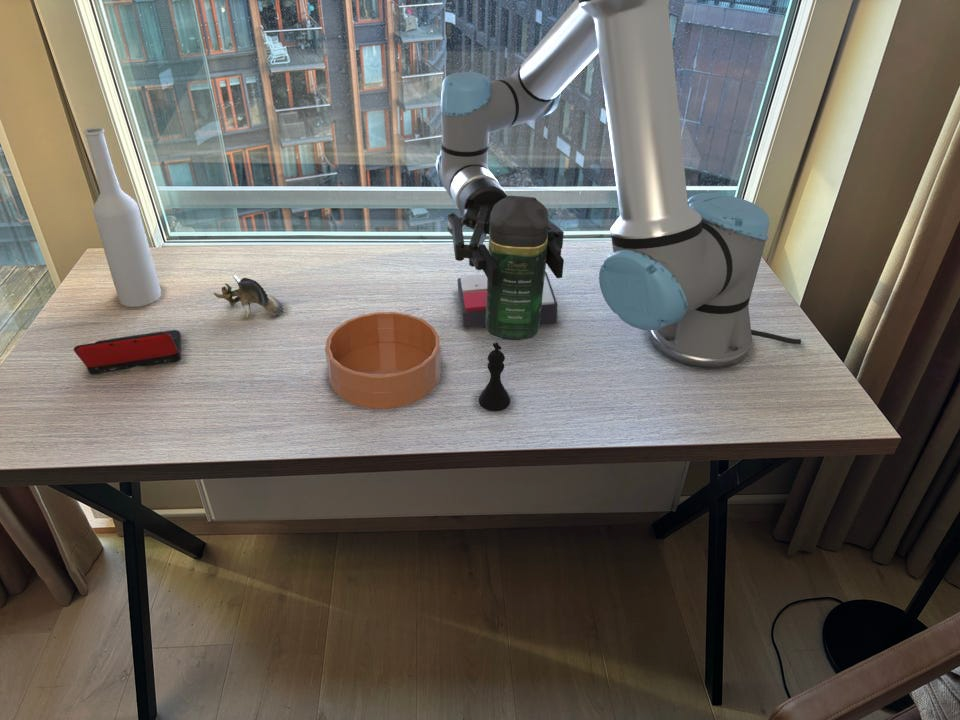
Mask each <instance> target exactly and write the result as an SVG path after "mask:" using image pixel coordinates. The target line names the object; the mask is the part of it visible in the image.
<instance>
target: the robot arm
mask: <svg viewBox="0 0 960 720" xmlns="http://www.w3.org/2000/svg"><path fill="white" fill-rule="evenodd" d="M669 3H670V0H574V1H573V2H572V3H571V4H570V5H569V7H568V8H567V9H566V11H564V13H563V14H562V15H561V16H560V17H559V19H558V20H557V21H556V23H555V24H553V26H552V27H551V29H550V30H549V31H548V32H547V33H546V34H545V35H544V36H543V38H542V39H541V40H540V42H538V44H537V45H536V46H535V47H534V49H532V51H531V52H530V53H529V54H528V56H526V58H525V59H524V60H523V62H522V63H521V64H520V65H519V66H518V67H517V68H516V69H515V71H514V72H513V73H512V74H511V75H509V76H508V77H504V78H499V79H496V80H492V81H490V79H489V77H487V76H486V75H484V74H482V73H479V72H474V71H464V72H460V71H459V72H454V73H451V74H449V75H447V76H445V78H444V79H443V80H442V84H441V92H440V103H439V104H440V105H439V106H440V107H439V108H440V117H441V118H440V121H441V145H440V152H439V153H438V155H437V156H436V157H437V158H436V160H435V170H436V173H437V177H438V179H439V182H440V184H441V185H442V187H443V188H444V189H445V191H446V193H447V194H448V195H449V197H450V199H451V201H452V202H453V204H454V206H455V207H456V209H457V210H458V212H459V215H457V214H456V213H454V212H449V213H447V214H446V217H447V220H446V222H447V224H446V225H447V228H446V229H447V231H448V233H449V234H450V235H451V238H452V245H453V251H454V260H455V261H458V262H462V261H464V260H465V259H468V265H469V267H474V268H475V270H477V271H483V274H485V275H486V276H487V278H488V280H489V282H490V284H491V285H492V287H493V286H498V266H497V264H496V263H495V261H494V259H493V258H492V256H491V255H490V253H489V248H487V246H486V245H485V244H484V242H485V241H486V238H487V236H489V228H490V224H489V221H490V215H491V211H492V209H493V207H494V205H495V204H496V203H497V202H499V201H500V200H502V199H504V198H505V197H506V196H509V195H508V194H507V192H506V191H505V189H504V188H503V187H502V185H501V184H500V182H499V181H498V179H497V178H496V177H495V176H494V174H493V173H492V171H490V168H489V166H488V161H489V147H490V146H489V145H490V144H489V143H490V134H491V133H495V132H498V131H501V130H504V129H506V128H507V129H508V128H511V127H514V126H518V125H521V124H524V123H528V122H533V121H537V120H540V119H542V118H543V117H546V116H548V115H550V114H552V113H553V112H554V111H555V110H556V109H557V108H558V106H559V103H560V99H561V93H562V91H563V90H564V89H565V88H566V87H567V86H568V85H569V84H570V83H571V82H572V81H573V80H574V79H575V78H576V77H577V75H579V73H581V71H583V69H584V68H585V67H586V66H588V65H589V63H591V61H592V60H593V59H594V58H595V57H597V55H598V59H599V65H600V66H599V67H600V73H601V79H602V80H601V81H602V88H603V96H604V103H605V110H606V111H605V112H606V118H607V127H608V133H609V141H610V149H611V156H612V163H613V169H614V170H613V171H614V179H615V186H616V187H615V188H616V193H617V201H618V208H619V209H618V210H619V217H618V218H617V219H616V221H614V223H613V224H612V226H611V227H610V237H611V245H612V253H610V254H608V255H607V257H606V258H605V259H604V261H603V263H602V264H601V266H600V268H599V273H598V281H599V282H598V283H599V288H600V292H601V294H602V297H603V299H604V301H605V302H606V304H607V306H608V307H609V309H610V310H611V311H612V312H613V314H616V315H617V316H618V318H619V319H620V320H621V321H622V322H624V323H625V324H627V325H629V326H631V327H633V328H635V329H638V330H643V331H649V332H648V336H649V340H650V342H651V344H652V345H653V347H654V348H655V349H656V350H657V351H658V352H659V353H660V354H662V355H663V356H664V357H666V358H668V359H670V360H671V361H674V362H676V363H679V364H681V365H684V366H687V367H691V368H696V369H705V370H719V369H726V368H730V367H733V366H736V365H738V364H740V363H742V361H744V360H745V359H746V358H747V357H748V355H749V353H750V349H751V345H752V341H753V336H756V337H761V338H766V339H769V340H770V339H771V340H774V341H778V342H782V343H787V344H792V345H801V344H802V339H801V338H791V337H787V336H782V335H779V334H774V333H769V332H765V331H759V330H754V329H752V327H751V326H752V325H751V317H750V309H749V305H750V301H751V296H752V294H753V289H754V286H755V282H756V279H757V275H758V271H759V268H760V264H761V260H762V258H763V257H762V256H763V254H764V249H765V246H766V242H767V241H768V240H769V239H768V238H769V237H768V232H769V229H770V228H769V227H770V223H771V222H770V217H769V215H768V213H767V212H766V211H765V210H764V209H763V208H762V207H761V206H758V205H757V204H755V203H753V202H751V201H749V200H745V199H743V198H740V197H737V196H734V195H733V196H732V195H728V194H722V193H711V192H707V193H706V192H705V193H703V192H702V193H698V194H697V193H696V194H694V195H692V196H690V197H689V198H688V192H687V191H688V190H687V180H686V171H685V162H684V150H683V140H682V131H681V119H680V110H679V100H678V91H677V90H678V89H677V79H676V69H675V59H674V50H673V49H674V48H673V39H672V30H671V29H672V27H671V18H670V10H669V9H670V8H669ZM464 227H466V228H469V229H471V230H472V231H473V232H472V235H471V238H470V241H469V243H468V244H465V239H464V232H463V229H464ZM564 234H565V232H564V231H563V230H562V229H561V228H560V227H558V226H557V225H556V224H555V223H553V221H551V220H550V219H548V240H547V256H546V266H547V267H548V268H549V270H550V271H551V273H552V274H553V275H554V277H555V278H556V279H562V278H563V272H564V263H565V260H564V258H563V256H562V249H563V243H564Z"/></svg>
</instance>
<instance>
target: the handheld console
mask: <svg viewBox="0 0 960 720" xmlns="http://www.w3.org/2000/svg"><path fill="white" fill-rule="evenodd" d="M73 352H74V353H75V354H76V355H77V357H78V358H79V359H80V360H81V362H82V363H83V364H84V366H85V367H86V369H87V372H88V373H89V374H90V375H99V374H103V373H109V372H115V371H123V370H128V369H132V368H135V367H149V366H154V365H163V364H168V363H175V362H179V361H180V360H181V359H182V356H181V355H182V353H181V352H182V335H181V332H180V331H179V330H178V329H171V330H170V329H169V330H164V331H155V332H149V333H141V334H135V335H128V336H127V335H126V336H122V337H114V338H109V339H102V340H101V339H100V340H97V341H95V342H93V343H84V344H79V345H76V346H74V347H73Z"/></svg>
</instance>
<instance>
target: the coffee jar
mask: <svg viewBox="0 0 960 720" xmlns="http://www.w3.org/2000/svg"><path fill="white" fill-rule="evenodd" d="M548 220H549V211H548V209H547V208H546V205H544V204H543V203H542V202H540V201H539V200H538V199H537V198H536V197H533V196H526V195H525V196H524V195H522V196H521V195H508V196H506V197H505V198H504V199H502V200H500V201H499V202H497V203H496V204H495V205H494V207H493V209H492V211H491V215H490V221H489V224H490V228H489V235H488V251H489V253H490V255H491V256H492V258H493V259H494V261H495V263H496V264H497V266H498V286H493V287H492V285H491V284H490V282H489V280H488V278H487V300H486V327H485V329H486V331H487V332H488V334H489V335H491V336H492V337H494V338H498V339H501V340H503V341H504V340H505V341H512V342H515V341H516V342H517V341H524V340H529V339H533V338H534V337H535V336H536V335H537V334H538V332H539V329H540V326H541V325H540V316H541V307H542V296H543V286H544V277H545V271H546V267H547V264H546V256H547V240H548Z"/></svg>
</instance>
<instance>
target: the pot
mask: <svg viewBox="0 0 960 720" xmlns="http://www.w3.org/2000/svg"><path fill="white" fill-rule="evenodd" d="M324 351H325V358H326V367H327V375H328V380H329V384H330V387H331V389H332V390H333V391H334V393H335V394H336V395H337V396H338V397H340V398H341V399H342V400H344V401H346V402H348V403H349V404H352V405H355V406H357V407H361V408H366V409H375V410H387V409H388V410H389V409H397V408H402V407H405V406H409V405H412V404H414V403H416V402H418V401H420V400H423V399H424V398H425V397H427V396H428V395H429V394H431V393H432V392H433V391H434V389H436V387H437V385H438V384H439V382H440V379H441V376H442V375H441V374H442V370H441V369H442V365H441V361H442V360H441V359H442V358H441V336H440V334H439V333H438V331H437V330H436V328H435V326H434V325H432V324H431V323H430V322H428V321H427V320H425V319H423V318H421V317H418V316H416V315H413V314H410V313H406V312H398V311H374V312H369V313H364V314H360V315H357V316H355V317H352V318H349V319H347V320H345V321H343V322H342V323H340V324H339V325H337V326H336V327H335V328H333V329H332V331H331V332H330V334H329V335H328V336H327V338H326V341H325V347H324Z"/></svg>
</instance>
